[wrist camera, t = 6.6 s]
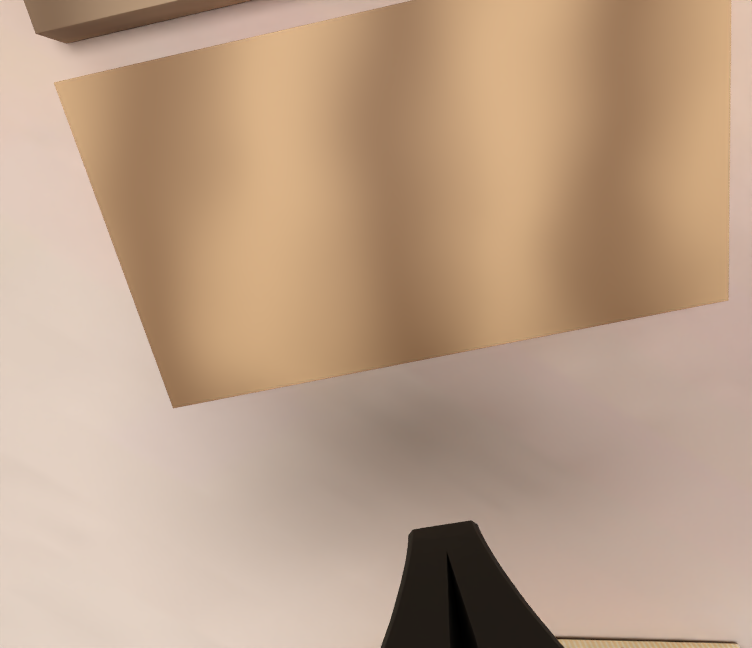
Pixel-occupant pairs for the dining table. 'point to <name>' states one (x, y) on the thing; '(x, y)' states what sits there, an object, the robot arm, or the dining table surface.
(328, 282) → the teak plank
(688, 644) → the coffeecake box
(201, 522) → the dining table surface
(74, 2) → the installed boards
